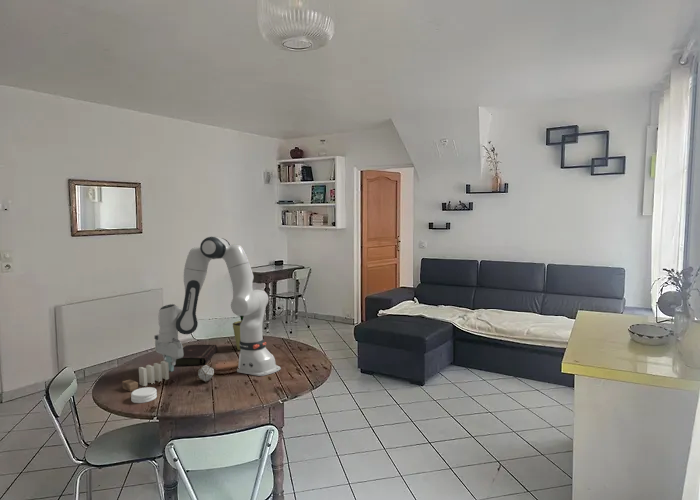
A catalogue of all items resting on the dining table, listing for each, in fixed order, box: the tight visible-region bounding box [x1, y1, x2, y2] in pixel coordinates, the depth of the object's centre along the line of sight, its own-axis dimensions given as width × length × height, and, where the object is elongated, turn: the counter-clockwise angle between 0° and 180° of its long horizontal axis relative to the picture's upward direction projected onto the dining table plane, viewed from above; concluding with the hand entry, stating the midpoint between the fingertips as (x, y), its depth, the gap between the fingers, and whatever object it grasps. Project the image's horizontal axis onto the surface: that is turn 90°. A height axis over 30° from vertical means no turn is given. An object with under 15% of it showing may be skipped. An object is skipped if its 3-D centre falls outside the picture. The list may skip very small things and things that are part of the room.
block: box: [122, 379, 139, 393], centre depth 208 cm, size 7×4×3 cm, turn 52°
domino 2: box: [145, 364, 156, 385], centre depth 215 cm, size 4×1×8 cm, turn 52°
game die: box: [196, 364, 216, 384], centre depth 216 cm, size 9×8×10 cm
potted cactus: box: [232, 316, 244, 351], centre depth 271 cm, size 15×15×30 cm
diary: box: [174, 344, 218, 367], centre depth 252 cm, size 19×25×5 cm
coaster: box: [130, 386, 158, 404], centre depth 196 cm, size 10×10×4 cm
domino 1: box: [138, 366, 148, 387], centre depth 213 cm, size 4×1×8 cm, turn 52°
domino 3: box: [153, 362, 163, 383], centre depth 218 cm, size 4×1×8 cm, turn 52°
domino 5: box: [166, 356, 175, 372], centre depth 233 cm, size 4×1×8 cm, turn 52°
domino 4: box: [160, 360, 170, 380], centre depth 221 cm, size 4×1×8 cm, turn 52°
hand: (170, 364), depth 233 cm, fingers closed on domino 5, 4 cm apart
